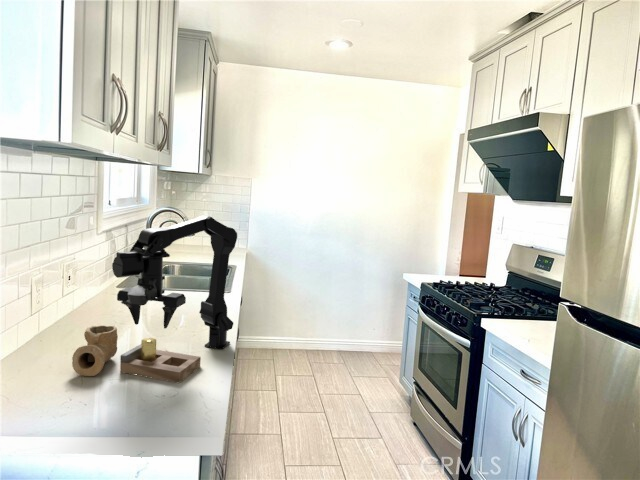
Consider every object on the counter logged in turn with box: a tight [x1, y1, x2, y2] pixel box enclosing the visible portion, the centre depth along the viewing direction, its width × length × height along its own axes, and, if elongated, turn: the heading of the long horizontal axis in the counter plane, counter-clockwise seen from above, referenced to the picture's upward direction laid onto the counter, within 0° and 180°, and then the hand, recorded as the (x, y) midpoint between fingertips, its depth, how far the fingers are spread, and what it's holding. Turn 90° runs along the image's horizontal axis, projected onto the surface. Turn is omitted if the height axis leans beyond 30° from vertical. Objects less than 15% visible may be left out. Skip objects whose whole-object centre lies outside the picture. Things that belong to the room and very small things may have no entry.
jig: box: [119, 343, 202, 383], centre depth 134 cm, size 12×18×5 cm, turn 77°
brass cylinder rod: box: [140, 337, 157, 362], centre depth 135 cm, size 4×4×8 cm
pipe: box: [71, 325, 119, 377], centre depth 133 cm, size 9×16×10 cm, turn 7°
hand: (151, 326), depth 136 cm, fingers open, 9 cm apart
